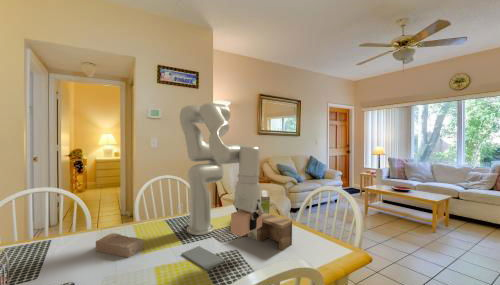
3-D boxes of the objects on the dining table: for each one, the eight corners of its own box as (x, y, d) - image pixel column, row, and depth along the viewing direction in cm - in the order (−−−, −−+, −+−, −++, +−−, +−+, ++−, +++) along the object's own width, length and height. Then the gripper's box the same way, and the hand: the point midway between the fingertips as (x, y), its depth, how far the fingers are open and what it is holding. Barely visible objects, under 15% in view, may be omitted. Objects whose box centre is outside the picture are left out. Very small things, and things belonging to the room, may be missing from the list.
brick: (144, 248, 96) (144, 237, 96) (128, 259, 88) (128, 246, 88) (112, 243, 101) (112, 232, 101) (94, 252, 93) (94, 240, 93)
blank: (230, 232, 86) (231, 213, 86) (252, 222, 95) (252, 205, 95) (240, 236, 83) (241, 217, 83) (262, 226, 92) (262, 208, 92)
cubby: (243, 235, 108) (243, 213, 108) (254, 230, 113) (254, 209, 113) (282, 250, 94) (282, 225, 94) (291, 244, 99) (292, 220, 99)
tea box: (269, 225, 121) (270, 196, 120) (250, 225, 121) (250, 196, 120) (268, 215, 136) (268, 189, 135) (250, 215, 136) (250, 189, 135)
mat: (181, 254, 91) (181, 253, 91) (198, 247, 96) (198, 246, 96) (207, 271, 80) (207, 269, 80) (225, 261, 86) (225, 260, 86)
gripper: (225, 176, 91) (224, 223, 92) (259, 184, 80) (258, 237, 81) (239, 174, 97) (238, 218, 98) (273, 181, 85) (271, 231, 86)
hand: (247, 226), depth 89 cm, fingers closed on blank, 5 cm apart
